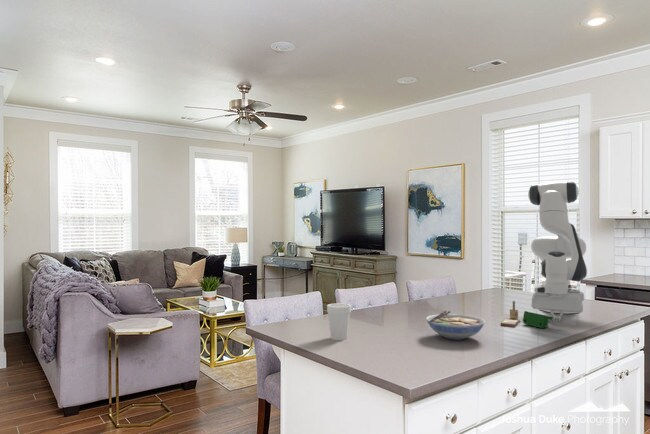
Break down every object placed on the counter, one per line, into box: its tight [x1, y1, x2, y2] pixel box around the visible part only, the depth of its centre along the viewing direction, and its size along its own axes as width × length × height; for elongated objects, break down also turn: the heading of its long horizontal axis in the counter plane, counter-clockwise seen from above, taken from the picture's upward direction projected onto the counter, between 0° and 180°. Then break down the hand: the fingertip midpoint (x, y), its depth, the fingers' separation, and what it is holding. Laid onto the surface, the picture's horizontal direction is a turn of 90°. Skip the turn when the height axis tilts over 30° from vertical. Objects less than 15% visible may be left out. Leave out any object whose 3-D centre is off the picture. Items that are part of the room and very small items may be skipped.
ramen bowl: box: [425, 310, 486, 341], centre depth 184 cm, size 25×23×8 cm
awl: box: [509, 300, 519, 319], centre depth 218 cm, size 4×4×9 cm
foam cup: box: [326, 302, 352, 341], centre depth 183 cm, size 10×9×13 cm
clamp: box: [522, 310, 553, 329], centre depth 205 cm, size 12×6×9 cm, turn 17°
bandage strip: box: [500, 317, 521, 328], centre depth 210 cm, size 13×6×1 cm, turn 149°
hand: (556, 320), depth 201 cm, fingers closed
